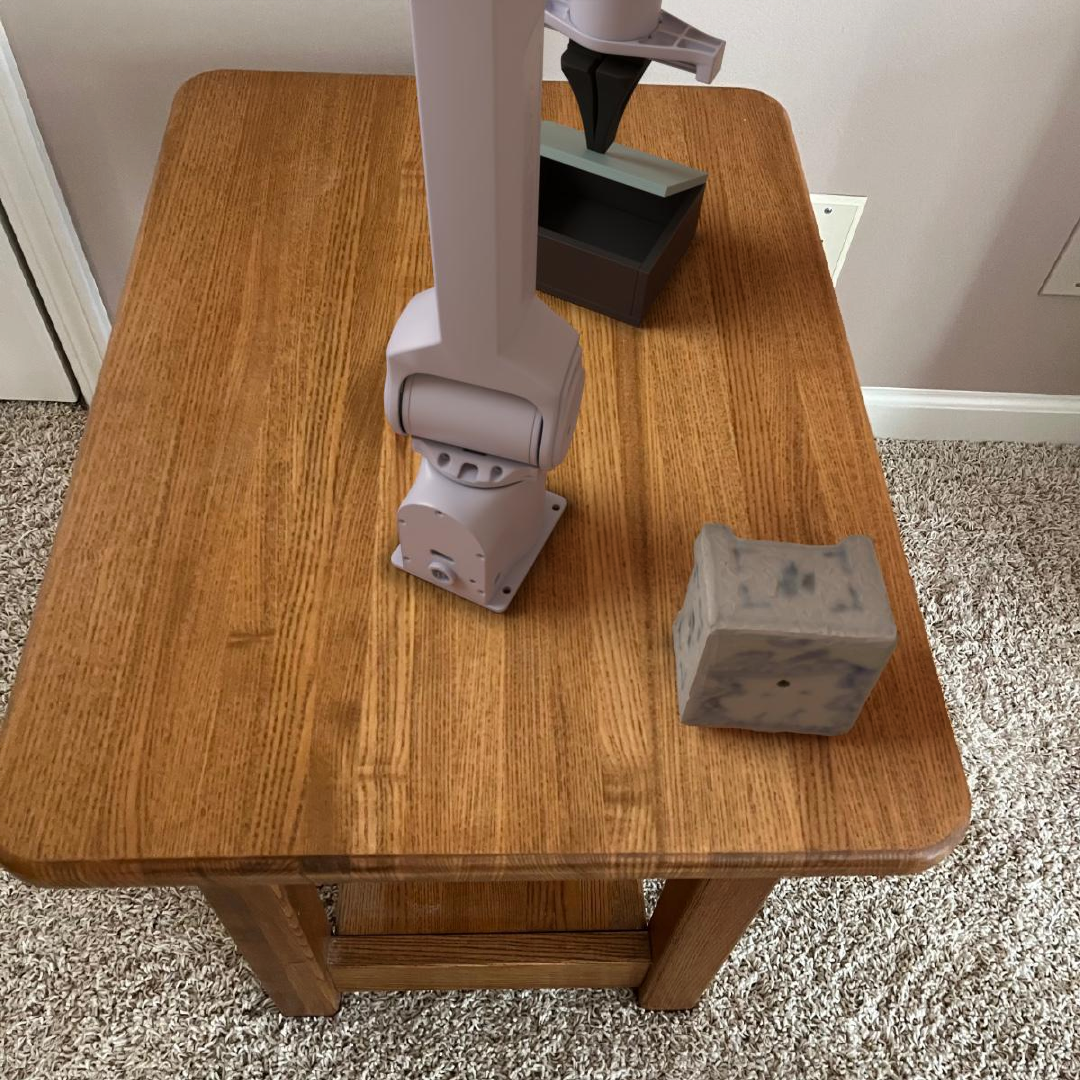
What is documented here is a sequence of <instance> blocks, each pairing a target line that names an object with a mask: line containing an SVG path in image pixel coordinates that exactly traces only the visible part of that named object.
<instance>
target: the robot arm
mask: <svg viewBox="0 0 1080 1080" xmlns="http://www.w3.org/2000/svg"><path fill="white" fill-rule="evenodd" d="M407 2H408V11H409V22H410V31H411V33H410V34H411V41H412V42H411V43H412V50H413V52H412V53H413V63H414V74H415V75H414V76H415V85H416V97H417V107H418V109H417V110H418V119H419V130H420V131H419V132H420V143H421V152H422V163H423V175H424V184H425V194H426V195H425V197H426V207H427V208H426V209H427V218H428V229H429V239H430V241H429V242H430V251H431V261H432V263H431V264H432V273H433V284H434V285H433V286H432V287H430V288H427V289H424V290H422V291H420V292H418V293H415V295H414V296H413V297H412V298H411V299H410V300H409V301H408V303H407V304H406V306H405V307H404V309H403V311H402V312H401V314H400V315H399V317H398V319H397V320H396V324H395V326H394V327H393V331H392V332H391V335H390V338H389V341H388V343H387V346H386V350H385V358H386V376H385V382H384V391H383V408H384V413H385V414H384V415H385V417H386V419H387V421H388V423H389V426H390V428H391V429H392V432H394V433H395V434H397V435H399V436H409V435H410V439H411V440H410V441H411V450H412V451H413V452H415V453H417V454H421V459H420V460H421V461H420V463H419V468H418V471H417V474H416V477H415V479H414V482H413V484H412V485H411V487H410V489H409V490H408V493H407V495H406V496H405V498H404V499H403V500H402V502H401V503H400V505H399V506H398V509H397V512H396V524H397V532H398V538H399V544H398V546H397V547H396V549H395V550H394V551H393V553H392V554H391V557H390V560H391V564H392V566H393V567H396V568H397V569H399V570H402V571H404V572H406V573H408V574H411V575H413V576H415V577H417V578H419V579H422V580H423V581H426V582H428V583H430V584H433V585H434V586H437V587H439V588H441V589H443V590H445V591H448V592H450V593H453V594H455V595H457V596H459V597H461V598H462V599H463V598H464V599H466V600H468V601H471V602H472V603H474V604H477V605H478V606H481V607H483V608H486V609H488V610H490V611H492V612H494V613H497V614H502V613H503V612H505V611H506V610H508V607H509V606H510V604H511V602H512V600H513V599H514V597H515V595H516V594H517V592H518V591H519V588H520V587H521V585H522V583H523V582H524V580H525V578H526V576H527V575H528V574H529V571H530V570H531V568H532V566H533V565H534V563H535V561H536V559H537V558H538V556H539V554H540V552H541V551H542V549H543V548H544V546H545V545H546V542H547V540H548V539H549V538H550V536H551V534H552V532H553V531H554V529H555V528H556V526H557V523H558V522H559V520H560V519H561V517H562V515H563V514H564V512H565V510H566V508H567V505H568V502H567V499H566V498H565V497H563V496H562V495H559V494H557V493H554V492H552V491H549V490H547V489H546V487H547V473H548V472H552V471H553V470H554V469H555V468H557V467H558V466H560V465H561V464H563V463H564V461H565V459H566V457H567V454H568V452H569V449H570V446H571V444H572V441H573V437H574V434H575V431H576V428H577V427H576V426H577V422H578V418H579V414H580V409H581V406H582V401H583V397H584V396H583V395H584V388H585V381H586V369H585V368H584V366H583V347H582V346H581V345H580V340H581V339H580V338H581V334H580V332H579V331H578V330H577V329H576V328H575V327H574V326H573V325H572V324H570V323H569V322H568V321H567V320H566V319H565V318H563V317H562V315H560V314H559V313H557V312H556V311H555V310H554V309H553V308H551V307H550V306H549V305H548V304H546V303H545V302H544V301H543V300H542V299H541V298H540V297H539V296H538V295H537V294H536V293H537V292H536V262H537V231H538V200H539V170H540V139H541V121H542V107H543V104H542V103H543V76H544V75H543V73H544V47H545V45H544V44H545V28H546V29H548V30H553V31H556V32H559V33H560V34H562V35H564V36H565V37H567V38H568V43H567V44H566V49H565V51H563V53H562V54H561V55H560V71H561V72H562V74H563V75H564V77H565V79H566V81H567V82H568V84H569V86H570V89H571V90H572V93H573V95H574V97H575V98H574V99H575V100H576V104H577V106H578V110H579V114H580V118H581V122H582V127H583V132H584V133H585V139H586V147H587V149H588V150H591V151H594V152H597V153H600V154H605V153H606V151H607V150H608V149H609V147H610V146H611V145H612V143H613V142H615V141H616V136H617V133H618V130H619V126H620V123H621V120H622V118H623V115H624V113H625V110H626V108H627V106H628V104H629V101H630V100H631V98H632V96H633V93H634V92H635V90H636V88H637V86H638V84H639V83H640V81H641V80H642V77H644V74H645V73H646V71H647V70H648V68H649V67H650V65H651V63H652V62H655V63H657V64H662V65H665V66H668V67H672V68H675V69H677V70H681V71H684V72H686V73H690V74H694V75H695V77H694V79H695V80H696V81H697V82H698V83H702V84H705V85H708V86H710V85H711V84H712V83H713V81H714V80H715V79H716V77H717V76H718V74H719V72H720V71H721V69H722V65H723V60H724V55H725V50H726V45H727V41H726V40H724V39H721V38H719V37H715V36H713V35H710V34H708V33H706V32H704V31H702V30H700V29H698V28H697V27H694V26H693V25H691V24H690V23H688V22H686V21H684V20H682V19H681V18H679V17H677V16H675V15H674V14H672V13H671V12H668V11H666V10H665V9H663V8H662V3H663V0H407ZM555 508H556V509H558V510H555ZM505 591H509V593H505Z"/></svg>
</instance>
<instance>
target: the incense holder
mask: <svg viewBox="0 0 1080 1080" xmlns="http://www.w3.org/2000/svg"><path fill="white" fill-rule="evenodd" d="M693 543H694V544H693V549H692V551H693V560H694V561H693V568H692V571H691V575H690V577H689V581H688V583H687V587H686V594H685V597H684V599H683V600H684V601H683V603H682V608H680V610H679V611H676V617H675V620H674V621H673V624H672V626H671V630H672V635H673V650H674V655H675V671H676V691H677V705H678V706H677V707H678V713H679V714H678V715H679V723H681V724H683V725H685V726H689V727H700V728H701V727H702V728H719V729H720V728H721V729H723V728H725V729H727V728H728V729H729V728H731V729H732V728H733V729H743V730H750V731H751V730H752V731H754V732H756V733H757V732H758V733H764V734H765V733H767V734H769V733H770V734H771V733H774V734H776V733H782V732H786V733H796V734H804V735H805V734H807V735H819V736H824V737H825V736H826V737H828V736H829V737H838V736H841V735H845V734H847V733H848V732H849V731H850V730H852V729H853V727H854V725H855V723H856V721H857V720H858V718H859V716H860V714H861V712H862V710H863V707H864V705H865V703H866V701H867V700H868V698H869V697H870V695H871V693H872V691H873V689H874V687H875V686H876V684H877V682H878V681H879V678H880V677H881V675H882V673H883V671H884V670H885V668H886V667H887V665H888V663H889V661H890V658H891V656H892V655H893V654H894V652H895V650H896V648H897V646H898V644H899V635H898V630H897V625H896V622H895V618H894V615H893V611H892V606H891V602H890V599H889V595H888V590H887V587H886V584H885V579H884V577H883V574H882V573H883V572H882V569H881V564H880V562H879V560H878V556H877V555H878V554H877V552H876V548H875V540H874V539H873V538H872V537H871V536H870V535H865V534H858V533H853V534H851V535H848V536H845V537H841V539H840V540H839V541H838V543H836V544H825V545H824V544H822V545H819V544H818V545H814V544H803V543H798V542H797V543H796V542H789V541H787V542H786V541H776V540H771V539H767V540H760V539H755V538H745V537H744V538H743V537H738V536H737V535H736V534H735V532H734V531H733V529H732V528H731V526H730V525H727V524H724V523H719V522H713V523H712V522H706V523H703V524H702V526H701V530H700V531H699V534H698V535H697V537H696V538H695V540H694V542H693Z"/></svg>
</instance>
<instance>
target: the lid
mask: <svg viewBox="0 0 1080 1080" xmlns="http://www.w3.org/2000/svg"><path fill="white" fill-rule="evenodd" d="M540 155H541V156H544V157H547V158H550V159H553V160H556V161H559V162H561V163H564V164H567V165H570V166H573V167H576V168H579V169H582V170H585V171H588V172H591V173H594V174H597V175H599V176H602V177H605V178H608V179H611V180H614V181H617V182H620V183H623V184H626V185H629V186H632V187H635V188H638V189H640V190H643V191H646V192H649V193H652V194H655V195H658V196H661V197H667V196H670V195H673V194H675V193H678V192H681V191H684V190H687V189H689V188H692V187H695V186H698V185H700V184H703V183H706V184H707V181H708V177H709V175H710V174H709V173H708V172H707V171H702V170H700V169H697V168H694V167H690V166H688V165H684V164H681V163H679V162H676V161H674V160H673V161H672V160H670V159H666V158H663V157H660V156H657V155H654V154H651V153H648V152H645V151H642V150H640V149H638V148H637V149H636V148H635V147H630V146H628V145H626V144H623V143H618V142H615V141H614V142H613V143H612V145H611V146H610V147H609V149H608V150H607V151H606V153H605V154H600V153H597V152H594V151H591V150H588V149H587V147H586V139H585V133H584V130H579V129H577V128H575V127H574V128H573V127H570V126H568V125H564V124H562V123H559V122H556V121H554V120H549V119H547V120H541V139H540Z"/></svg>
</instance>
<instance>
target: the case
mask: <svg viewBox="0 0 1080 1080" xmlns="http://www.w3.org/2000/svg"><path fill="white" fill-rule="evenodd" d="M706 186H707V182H706V183H703V184H700V185H698V186H695V187H692V188H689V189H687V190H684V191H681V192H678V193H675V194H673V195H670V196H667V197H661V196H658V195H655V194H652V193H649V192H646V191H643V190H640V189H638V188H635V187H632V186H629V185H626V184H623V183H620V182H617V181H614V180H611V179H608V178H605V177H602V176H599V175H597V174H594V173H591V172H588V171H585V170H582V169H579V168H576V167H573V166H570V165H567V164H564V163H561V162H559V161H556V160H553V159H550V158H547V157H544V156H541V155H540V170H539V200H538V231H537V262H536V290H537V291H539V292H542V293H545V294H547V295H549V296H552V297H555V298H558V299H561V300H563V301H566V302H569V303H571V304H574V305H576V306H579V307H581V308H585V309H586V310H587V309H588V310H590V311H593V312H595V313H598V314H601V315H604V316H606V317H609V318H612V319H614V320H616V321H619V322H623V323H625V324H627V325H631V326H633V327H635V328H638V329H639V328H640V327H641V326H642V325H643V323H644V321H645V319H646V318H647V316H648V315H649V313H650V311H651V309H652V308H653V307H654V305H655V303H656V301H657V300H658V298H659V297H660V295H661V294H662V292H663V290H664V288H666V285H667V283H668V282H669V280H670V279H671V277H672V275H673V274H674V272H675V270H676V269H677V267H678V266H679V264H680V262H681V261H682V259H683V258H684V256H685V255H686V253H687V251H688V250H689V248H690V246H691V245H692V243H693V241H694V239H695V237H696V233H697V228H698V224H699V219H700V215H701V210H702V205H703V201H704V196H705V191H706Z"/></svg>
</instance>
